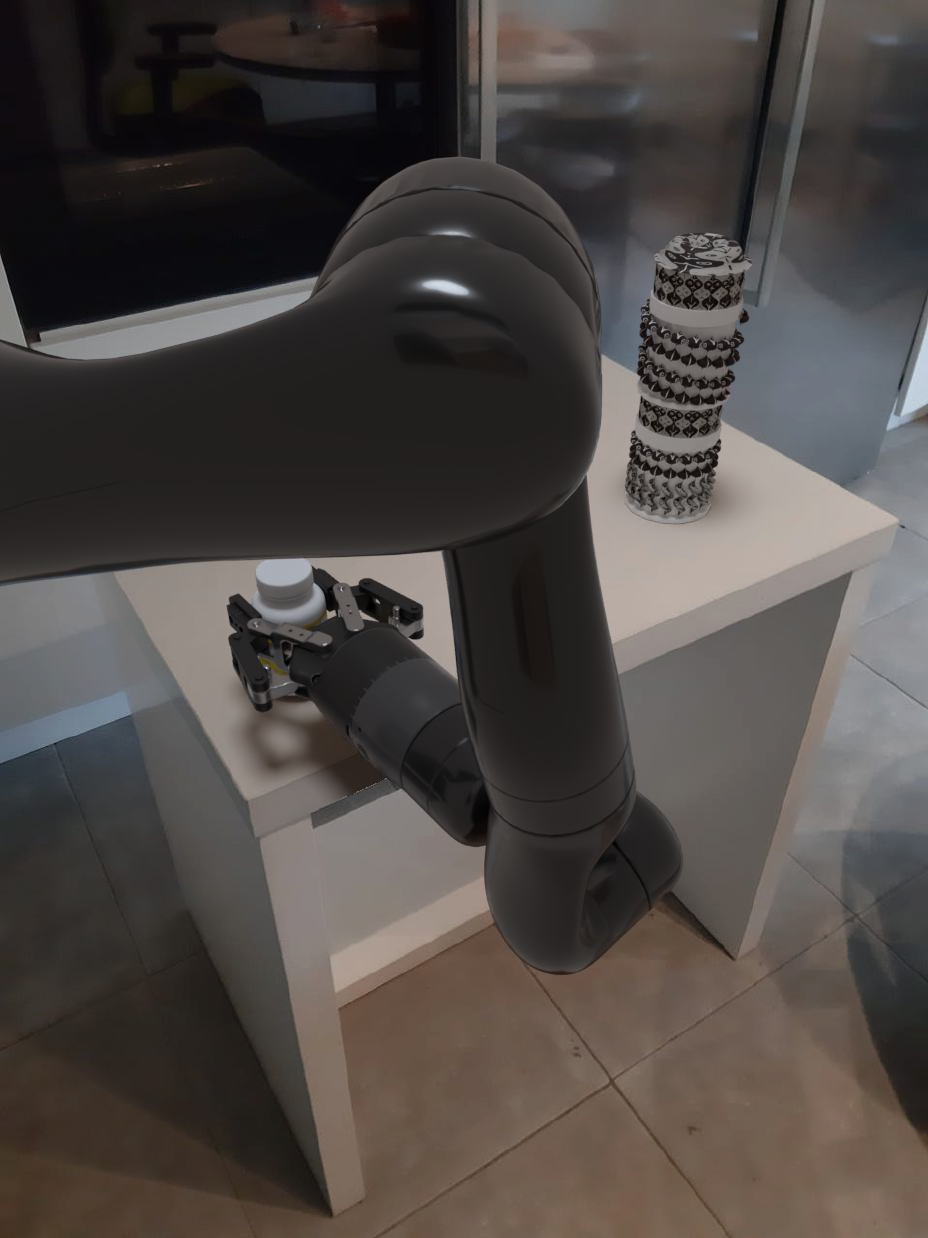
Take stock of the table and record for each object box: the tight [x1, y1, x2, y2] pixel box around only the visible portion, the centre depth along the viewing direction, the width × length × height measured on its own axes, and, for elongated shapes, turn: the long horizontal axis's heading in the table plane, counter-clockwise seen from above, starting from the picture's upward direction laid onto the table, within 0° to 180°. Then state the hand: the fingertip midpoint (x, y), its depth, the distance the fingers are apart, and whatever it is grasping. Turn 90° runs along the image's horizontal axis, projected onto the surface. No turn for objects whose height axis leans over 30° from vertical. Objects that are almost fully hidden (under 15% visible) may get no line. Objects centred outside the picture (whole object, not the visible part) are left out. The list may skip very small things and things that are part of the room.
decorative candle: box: [624, 232, 753, 525], centre depth 89 cm, size 9×9×25 cm
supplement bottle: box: [250, 558, 329, 696], centre depth 72 cm, size 5×5×10 cm
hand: (271, 590), depth 73 cm, fingers closed on supplement bottle, 5 cm apart
